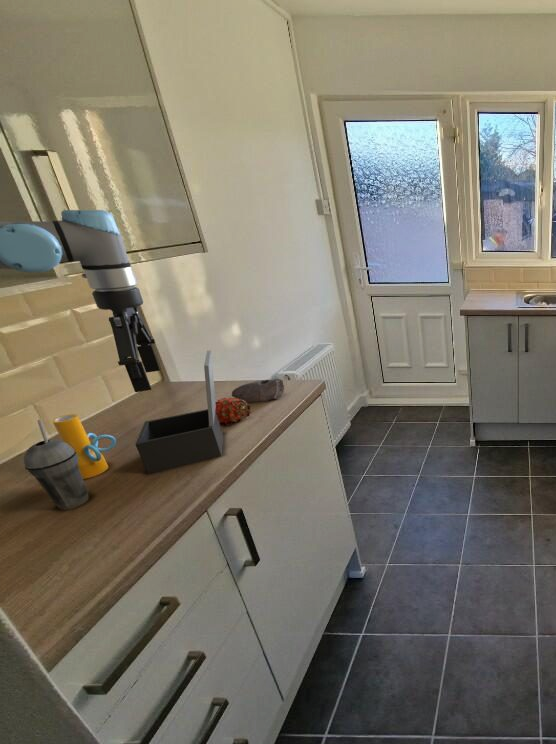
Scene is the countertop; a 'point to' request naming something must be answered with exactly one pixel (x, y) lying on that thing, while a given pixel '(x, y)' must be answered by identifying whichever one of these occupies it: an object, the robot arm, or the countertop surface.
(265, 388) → the perforated stone tool
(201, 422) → the dark grey storage bin
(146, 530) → the countertop surface
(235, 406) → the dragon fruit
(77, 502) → the beverage cup
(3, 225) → the robot arm
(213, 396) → the pod lid
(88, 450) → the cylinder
